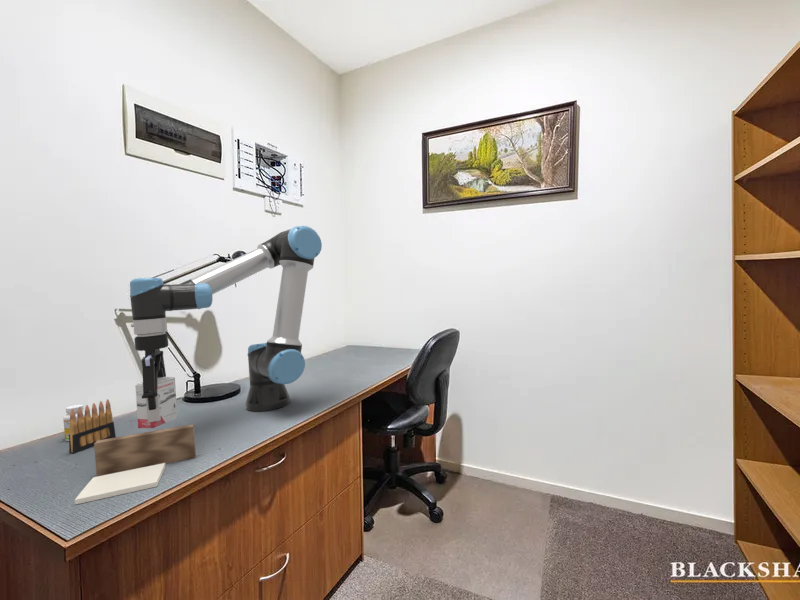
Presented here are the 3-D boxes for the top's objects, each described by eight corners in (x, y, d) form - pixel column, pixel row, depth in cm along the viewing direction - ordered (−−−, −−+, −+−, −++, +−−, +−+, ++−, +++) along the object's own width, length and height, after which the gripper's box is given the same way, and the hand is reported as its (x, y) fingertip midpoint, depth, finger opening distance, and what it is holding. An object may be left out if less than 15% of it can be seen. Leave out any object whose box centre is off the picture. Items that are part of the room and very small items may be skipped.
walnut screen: (195, 454, 94) (193, 424, 94) (194, 457, 92) (192, 426, 92) (99, 473, 86) (97, 440, 86) (96, 477, 85) (94, 443, 84)
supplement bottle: (85, 433, 114) (83, 402, 114) (91, 436, 111) (88, 405, 111) (62, 439, 110) (60, 407, 110) (67, 443, 107) (65, 410, 107)
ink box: (153, 429, 96) (149, 384, 95) (137, 428, 97) (133, 384, 96) (179, 417, 104) (175, 376, 104) (164, 416, 105) (160, 376, 105)
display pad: (165, 466, 88) (165, 462, 88) (156, 486, 79) (156, 481, 79) (93, 481, 83) (93, 477, 83) (75, 504, 74) (74, 499, 74)
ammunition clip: (73, 453, 99) (70, 410, 99) (69, 453, 100) (65, 409, 99) (115, 438, 109) (113, 398, 109) (111, 437, 110) (109, 398, 109)
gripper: (144, 332, 108) (151, 406, 109) (122, 340, 88) (130, 431, 89) (173, 329, 111) (180, 401, 112) (158, 337, 91) (166, 425, 92)
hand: (158, 415), depth 100 cm, fingers closed on ink box, 9 cm apart
